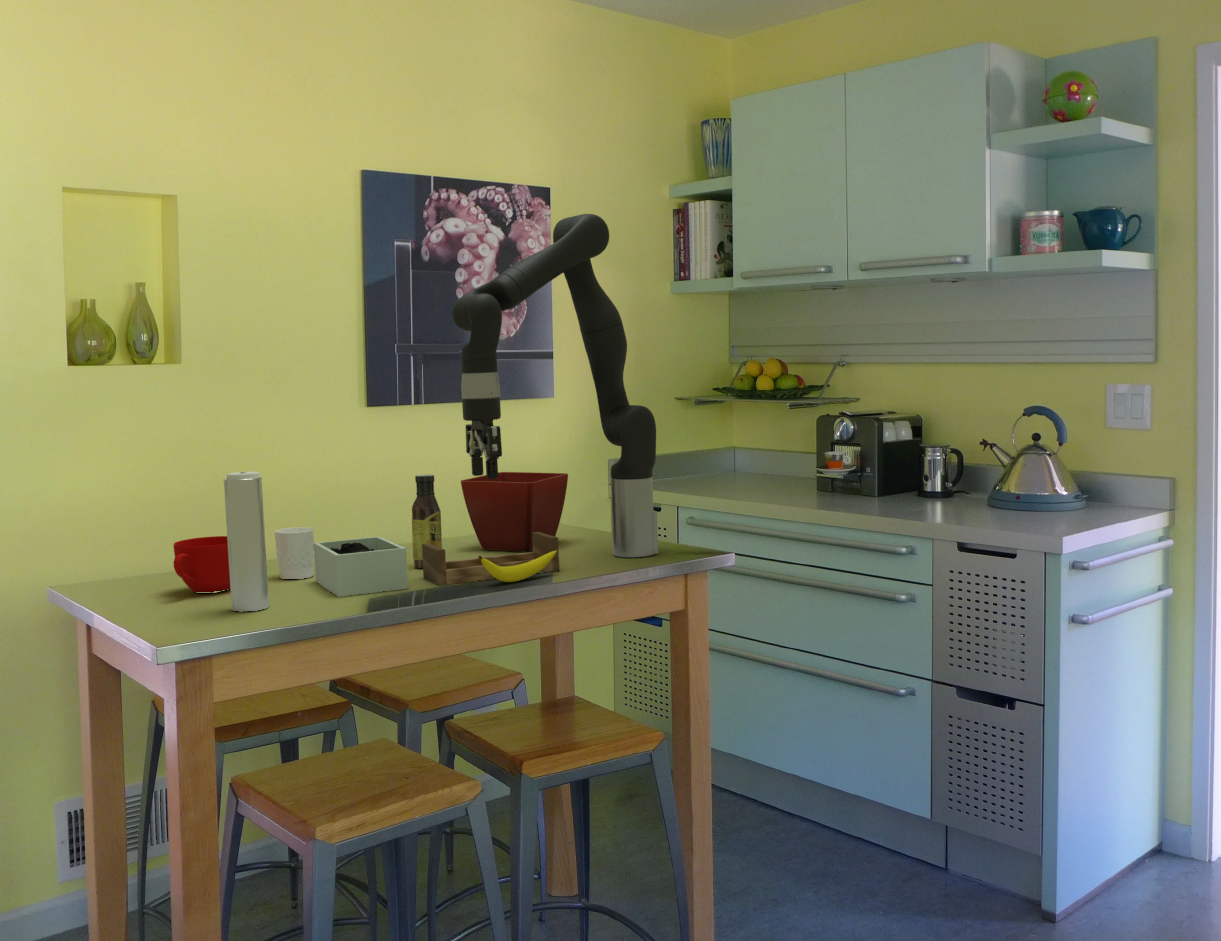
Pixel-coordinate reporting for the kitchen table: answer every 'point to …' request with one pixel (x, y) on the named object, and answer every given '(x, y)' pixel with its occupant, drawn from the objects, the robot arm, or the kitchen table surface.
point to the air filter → (246, 541)
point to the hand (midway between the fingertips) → (484, 477)
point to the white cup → (295, 552)
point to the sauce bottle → (425, 518)
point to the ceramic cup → (203, 563)
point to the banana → (517, 568)
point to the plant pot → (514, 507)
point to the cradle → (474, 569)
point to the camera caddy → (361, 567)
